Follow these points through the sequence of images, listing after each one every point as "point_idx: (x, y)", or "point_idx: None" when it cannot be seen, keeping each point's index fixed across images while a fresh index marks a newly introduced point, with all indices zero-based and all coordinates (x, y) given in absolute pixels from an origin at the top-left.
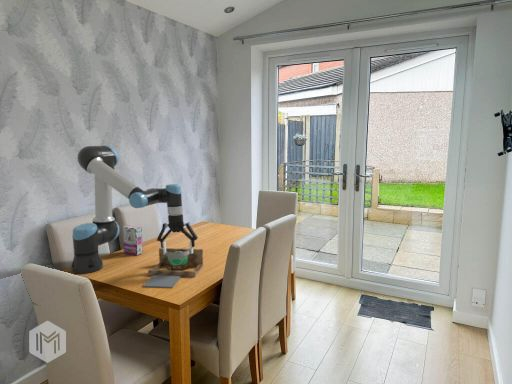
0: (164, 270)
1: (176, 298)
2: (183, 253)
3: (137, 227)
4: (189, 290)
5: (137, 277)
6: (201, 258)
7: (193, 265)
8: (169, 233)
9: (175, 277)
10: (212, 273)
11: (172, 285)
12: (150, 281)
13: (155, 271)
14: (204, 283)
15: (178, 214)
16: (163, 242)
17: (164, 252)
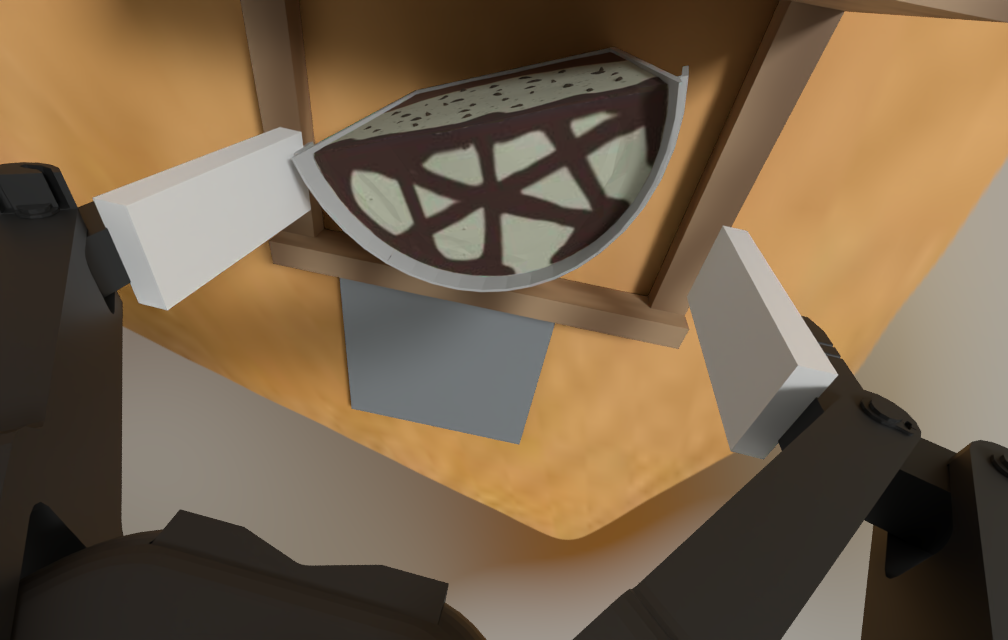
0: (409, 278)
1: (553, 515)
2: (579, 259)
3: None
4: (615, 473)
5: (238, 268)
6: (874, 10)
7: None
8: (99, 474)
9: (519, 334)
10: (849, 272)
11: (518, 433)
12: (368, 367)
13: (338, 275)
14: (718, 422)
15: None
16: (161, 305)
17: (291, 221)
